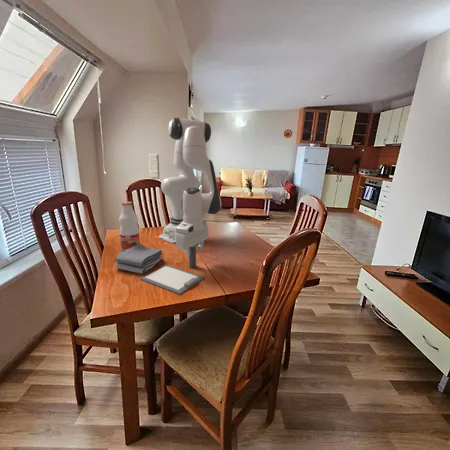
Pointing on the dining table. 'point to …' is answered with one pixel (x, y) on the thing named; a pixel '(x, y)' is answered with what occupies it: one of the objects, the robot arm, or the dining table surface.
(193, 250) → the marker
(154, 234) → the dining table surface
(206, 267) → the dining table surface
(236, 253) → the dining table surface
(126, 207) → the fruit juice
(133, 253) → the towel
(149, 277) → the clipboard
